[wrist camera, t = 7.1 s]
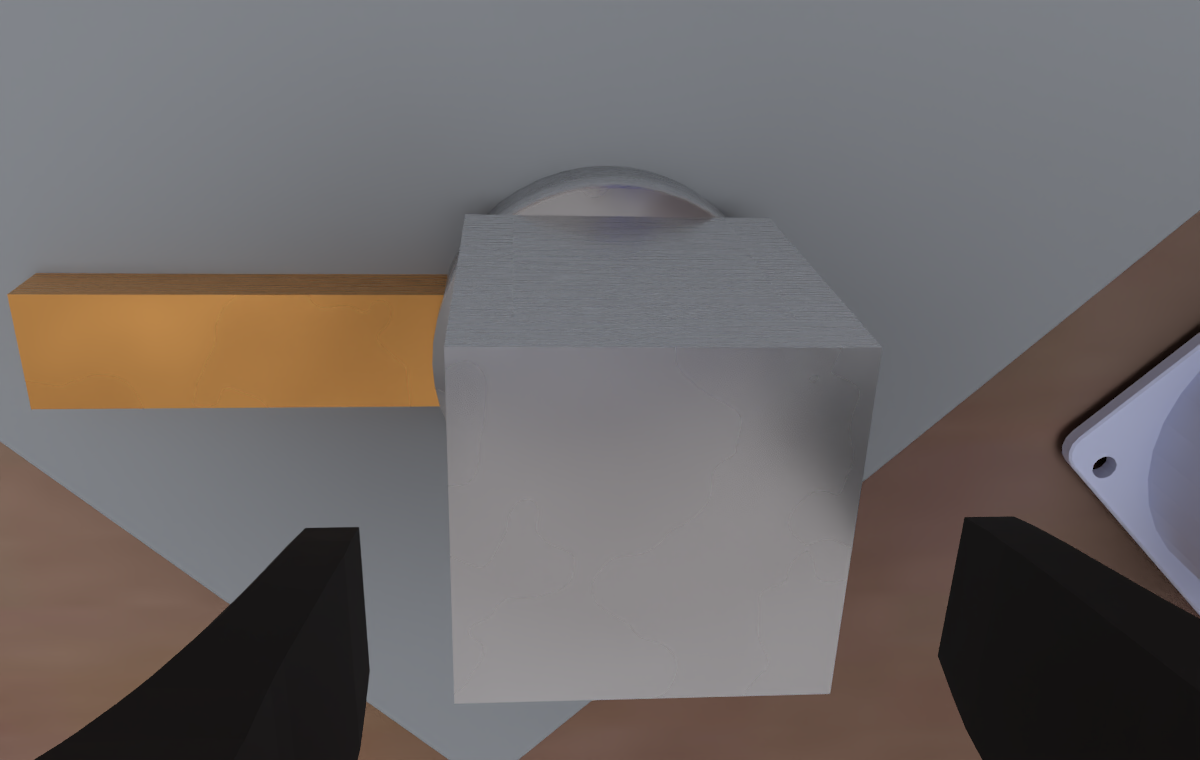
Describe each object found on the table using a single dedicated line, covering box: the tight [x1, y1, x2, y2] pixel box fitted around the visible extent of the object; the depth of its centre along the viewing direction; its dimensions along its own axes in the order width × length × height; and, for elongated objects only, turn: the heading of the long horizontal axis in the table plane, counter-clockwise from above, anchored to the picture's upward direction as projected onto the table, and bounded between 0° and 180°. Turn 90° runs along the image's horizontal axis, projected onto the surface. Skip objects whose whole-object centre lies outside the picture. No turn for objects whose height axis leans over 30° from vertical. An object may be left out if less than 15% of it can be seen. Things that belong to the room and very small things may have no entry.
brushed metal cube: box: [444, 214, 883, 704], centre depth 16 cm, size 5×5×6 cm
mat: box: [0, 0, 1200, 760], centre depth 19 cm, size 19×22×1 cm
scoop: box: [7, 166, 727, 420], centre depth 18 cm, size 14×6×5 cm, turn 88°
